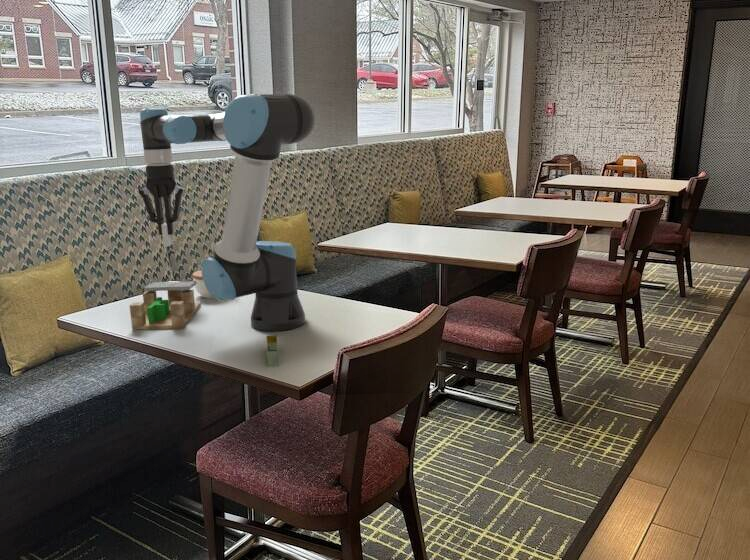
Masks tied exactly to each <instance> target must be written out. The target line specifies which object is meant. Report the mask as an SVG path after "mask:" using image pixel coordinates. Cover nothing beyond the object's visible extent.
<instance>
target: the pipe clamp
mask: <svg viewBox="0 0 750 560" xmlns="http://www.w3.org/2000/svg"><path fill="white" fill-rule="evenodd" d="M147 310H148V320H149V324H151V323H154V322H155V321H156V320H165V319H166V317H165V316H166V315H170V313H169V301H168V299H163V297H161V296H157V299H156V300H155V301H154V302H153V303H152V304H151V305H150V306H149V307H148V308H147Z"/></svg>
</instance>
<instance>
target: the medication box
mask: <svg viewBox="0 0 750 560" xmlns="http://www.w3.org/2000/svg"><path fill="white" fill-rule="evenodd" d="M265 343H266V345H265V347H266V350H265V351H266V353H265V354H266V367H269V368H270V367H278V363H279V362H278V360H279V358H278V357H279V356H278V337H277V335H266V342H265Z"/></svg>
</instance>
